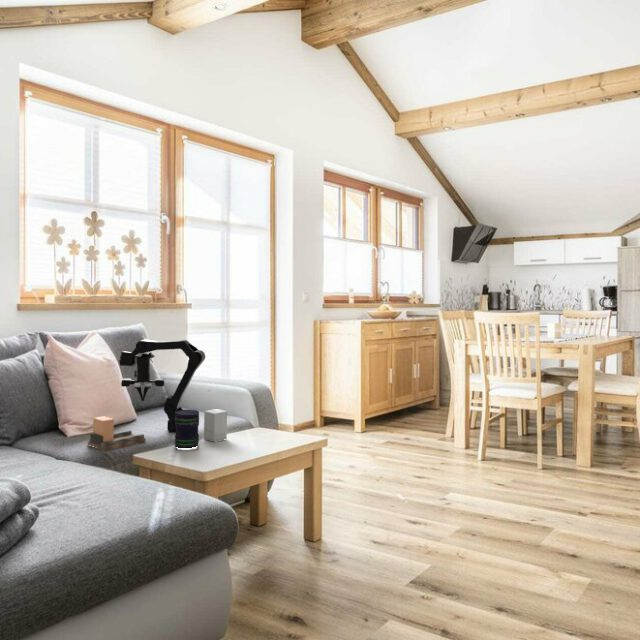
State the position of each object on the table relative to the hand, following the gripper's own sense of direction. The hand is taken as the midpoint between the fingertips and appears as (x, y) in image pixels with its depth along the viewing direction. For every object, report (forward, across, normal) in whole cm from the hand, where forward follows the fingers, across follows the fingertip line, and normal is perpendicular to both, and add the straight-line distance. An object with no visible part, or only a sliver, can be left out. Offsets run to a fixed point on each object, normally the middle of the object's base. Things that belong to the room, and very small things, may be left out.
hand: (142, 401), depth 297 cm
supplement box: (+13, -32, +20) cm, 40 cm away
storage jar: (+13, -20, +32) cm, 40 cm away
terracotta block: (+11, +14, +28) cm, 33 cm away
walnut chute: (+13, +9, +24) cm, 29 cm away
